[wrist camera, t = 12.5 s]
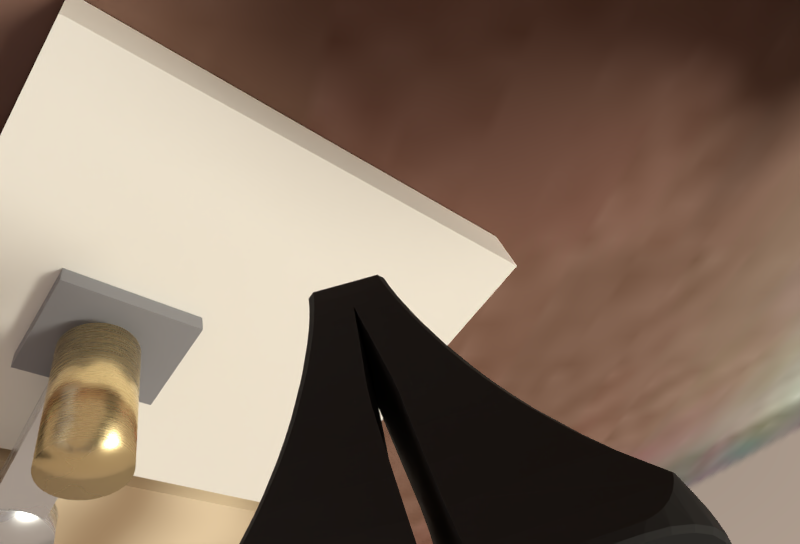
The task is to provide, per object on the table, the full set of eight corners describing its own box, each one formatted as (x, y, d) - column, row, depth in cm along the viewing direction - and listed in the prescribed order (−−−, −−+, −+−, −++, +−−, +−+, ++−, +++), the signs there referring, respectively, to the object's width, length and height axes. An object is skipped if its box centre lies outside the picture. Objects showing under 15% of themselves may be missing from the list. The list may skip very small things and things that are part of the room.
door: (-115, 374, 22) (-143, 433, 20) (68, -8, 17) (55, 20, 15) (295, 473, 31) (304, 522, 29) (495, 236, 26) (523, 275, 24)
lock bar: (39, 550, 25) (17, 674, 21) (-61, 538, 23) (-102, 671, 20) (166, 340, 21) (166, 451, 17) (58, 308, 19) (34, 423, 16)
